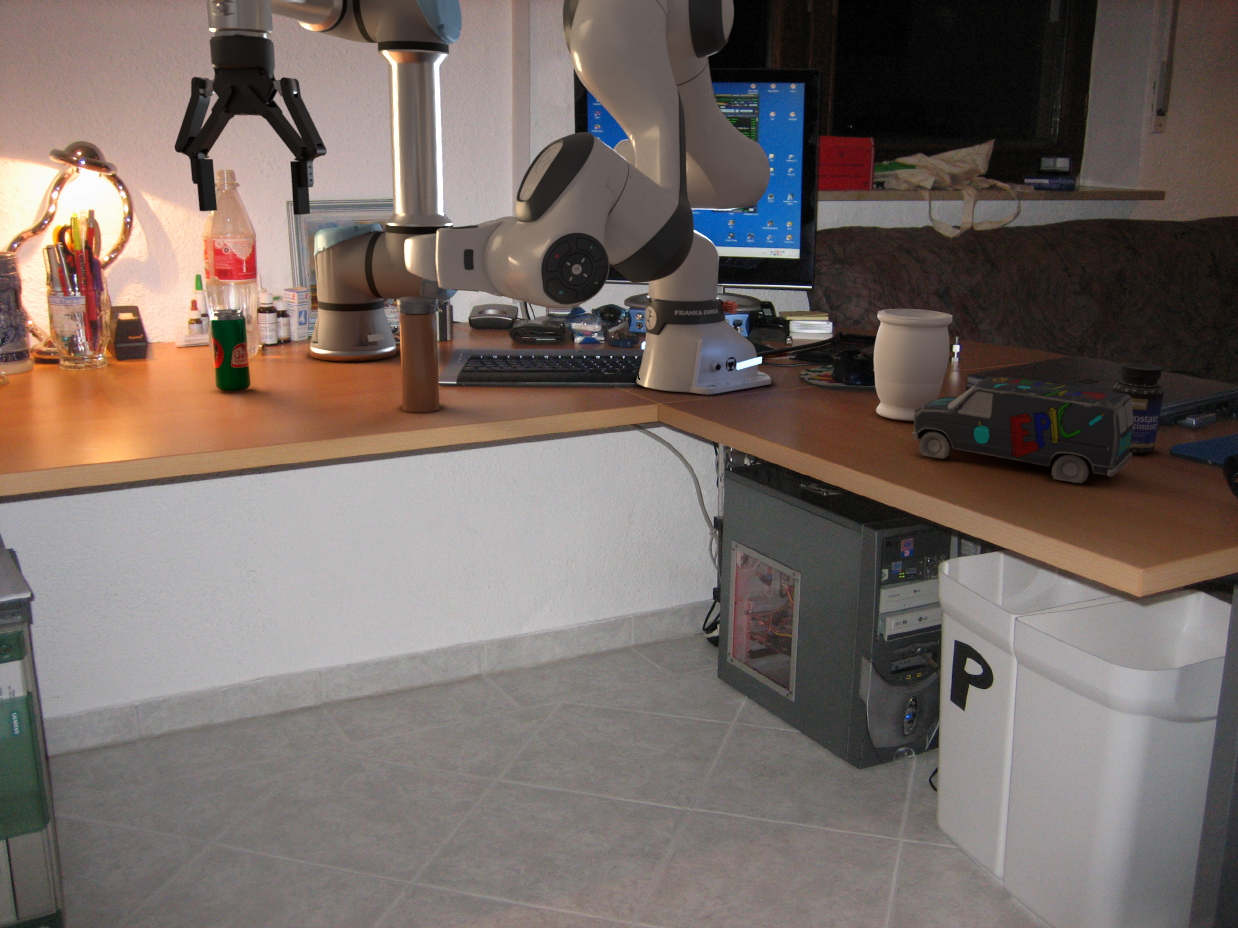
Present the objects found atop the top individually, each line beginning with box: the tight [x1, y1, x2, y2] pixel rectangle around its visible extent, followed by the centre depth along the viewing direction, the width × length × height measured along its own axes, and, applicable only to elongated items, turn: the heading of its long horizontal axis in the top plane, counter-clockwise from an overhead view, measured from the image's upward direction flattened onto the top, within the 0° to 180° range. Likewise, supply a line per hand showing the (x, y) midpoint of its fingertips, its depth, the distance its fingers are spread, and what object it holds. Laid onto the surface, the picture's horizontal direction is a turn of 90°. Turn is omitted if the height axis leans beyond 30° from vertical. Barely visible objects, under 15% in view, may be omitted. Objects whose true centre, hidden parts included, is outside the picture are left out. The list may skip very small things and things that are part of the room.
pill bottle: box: [1111, 362, 1165, 455], centre depth 139 cm, size 6×6×11 cm
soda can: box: [209, 308, 251, 393], centre depth 163 cm, size 5×5×12 cm
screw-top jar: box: [398, 312, 440, 413], centre depth 154 cm, size 5×5×16 cm
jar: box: [873, 308, 953, 422], centre depth 154 cm, size 11×10×15 cm
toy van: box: [911, 376, 1135, 484], centre depth 132 cm, size 11×25×10 cm, turn 54°
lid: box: [396, 296, 439, 314], centre depth 152 cm, size 6×6×2 cm
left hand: (254, 213), depth 138 cm, fingers open, 13 cm apart
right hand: (473, 250), depth 129 cm, fingers open, 8 cm apart
